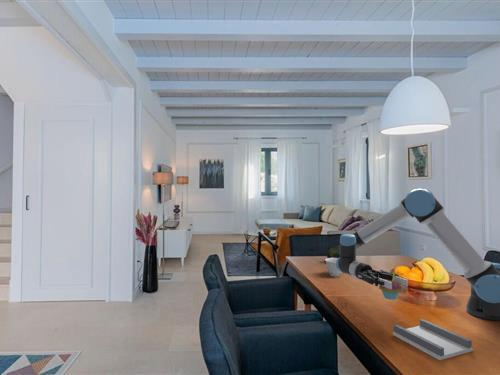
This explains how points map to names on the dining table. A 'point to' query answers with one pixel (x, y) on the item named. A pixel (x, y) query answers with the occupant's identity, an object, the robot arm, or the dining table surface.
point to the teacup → (332, 267)
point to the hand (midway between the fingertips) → (399, 284)
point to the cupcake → (391, 290)
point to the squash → (334, 252)
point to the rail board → (434, 340)
